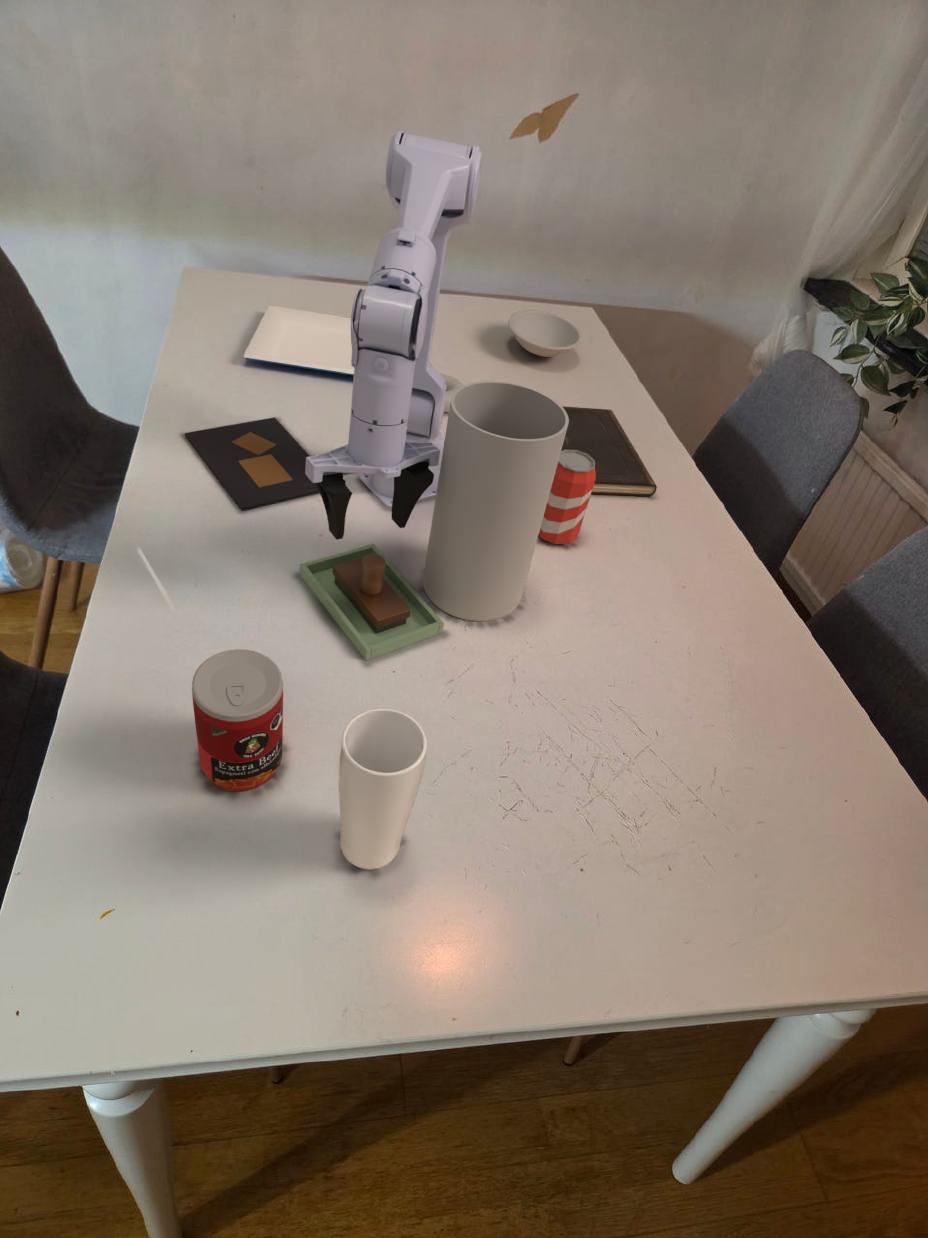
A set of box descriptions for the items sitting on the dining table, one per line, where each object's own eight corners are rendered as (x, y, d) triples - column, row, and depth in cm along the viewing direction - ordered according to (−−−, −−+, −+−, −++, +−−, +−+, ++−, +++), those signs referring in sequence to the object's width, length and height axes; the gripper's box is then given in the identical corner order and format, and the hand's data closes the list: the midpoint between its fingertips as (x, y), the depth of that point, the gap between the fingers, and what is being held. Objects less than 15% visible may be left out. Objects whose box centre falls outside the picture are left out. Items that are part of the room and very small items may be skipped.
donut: (400, 408, 132) (459, 421, 131) (402, 388, 129) (462, 402, 129) (415, 383, 139) (470, 395, 139) (417, 364, 137) (473, 376, 136)
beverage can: (524, 531, 111) (543, 456, 103) (551, 515, 115) (572, 442, 107) (557, 553, 109) (579, 478, 101) (585, 536, 112) (608, 463, 104)
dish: (501, 329, 162) (506, 305, 159) (570, 339, 164) (576, 315, 160) (505, 367, 149) (511, 342, 146) (580, 378, 151) (587, 353, 147)
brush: (331, 581, 96) (334, 538, 92) (363, 571, 99) (367, 529, 94) (375, 636, 91) (380, 593, 86) (408, 624, 93) (414, 583, 89)
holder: (372, 555, 102) (373, 543, 101) (441, 635, 93) (444, 623, 92) (299, 576, 97) (299, 564, 96) (365, 662, 88) (366, 650, 87)
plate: (376, 387, 135) (377, 376, 134) (242, 367, 133) (242, 355, 132) (387, 333, 152) (388, 323, 151) (268, 315, 150) (268, 304, 148)
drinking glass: (332, 812, 73) (341, 705, 63) (406, 813, 75) (426, 708, 65) (330, 880, 68) (339, 775, 58) (408, 880, 70) (430, 777, 60)
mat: (274, 419, 123) (274, 416, 122) (336, 488, 112) (337, 485, 111) (184, 435, 115) (184, 432, 115) (241, 511, 104) (241, 507, 104)
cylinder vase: (471, 547, 106) (507, 371, 90) (540, 598, 101) (592, 421, 84) (401, 581, 99) (426, 397, 82) (471, 639, 93) (513, 453, 77)
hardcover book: (555, 493, 120) (559, 480, 118) (522, 415, 136) (525, 403, 134) (653, 497, 123) (658, 484, 122) (610, 421, 140) (614, 409, 138)
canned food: (212, 804, 72) (204, 726, 65) (190, 739, 77) (180, 659, 70) (294, 779, 75) (295, 702, 68) (268, 718, 80) (267, 640, 73)
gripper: (329, 439, 73) (321, 560, 82) (461, 424, 81) (442, 537, 89) (299, 406, 78) (294, 524, 86) (427, 394, 85) (411, 505, 93)
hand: (367, 528), depth 88 cm, fingers open, 7 cm apart
